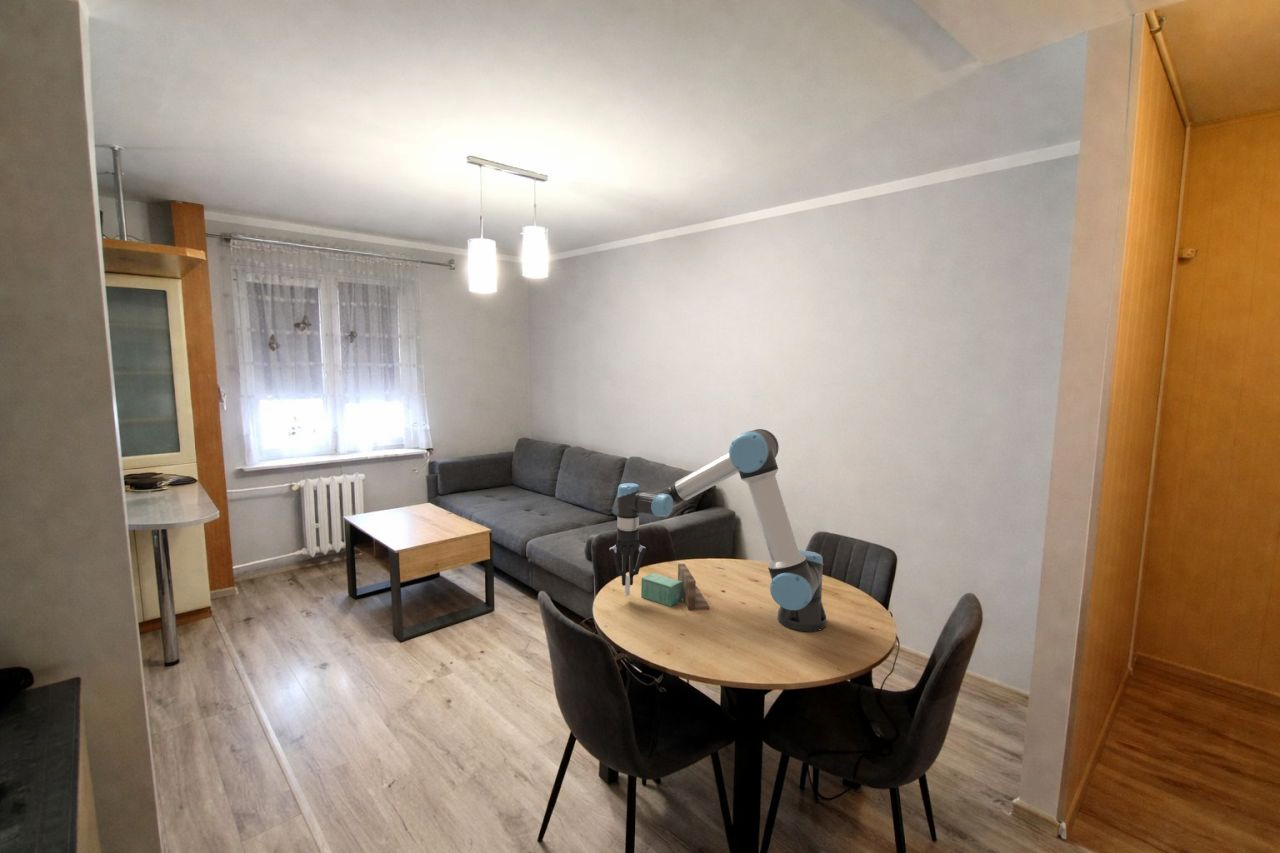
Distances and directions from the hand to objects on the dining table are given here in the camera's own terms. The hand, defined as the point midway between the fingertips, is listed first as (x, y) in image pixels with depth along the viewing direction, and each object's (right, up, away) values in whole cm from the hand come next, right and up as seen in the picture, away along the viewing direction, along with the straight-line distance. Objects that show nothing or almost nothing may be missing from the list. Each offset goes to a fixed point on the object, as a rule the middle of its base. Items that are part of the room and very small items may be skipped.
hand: (627, 593), depth 194 cm
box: (+12, -3, +3) cm, 13 cm away
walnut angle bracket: (+23, -3, +3) cm, 24 cm away
